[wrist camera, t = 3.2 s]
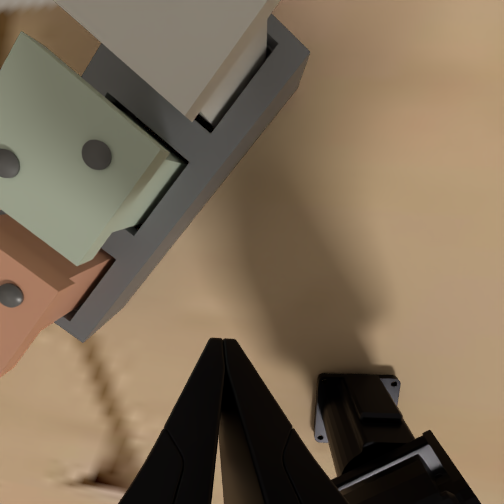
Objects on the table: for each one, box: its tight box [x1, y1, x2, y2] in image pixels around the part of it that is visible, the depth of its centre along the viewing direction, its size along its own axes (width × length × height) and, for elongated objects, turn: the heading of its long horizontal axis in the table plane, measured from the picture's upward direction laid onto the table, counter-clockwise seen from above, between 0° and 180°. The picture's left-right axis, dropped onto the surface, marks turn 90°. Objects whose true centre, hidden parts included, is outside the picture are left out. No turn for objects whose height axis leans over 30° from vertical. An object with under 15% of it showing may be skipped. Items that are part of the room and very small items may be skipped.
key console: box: [0, 14, 310, 343], centre depth 17 cm, size 8×21×5 cm, turn 140°
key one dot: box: [54, 0, 281, 128], centre depth 12 cm, size 6×6×7 cm
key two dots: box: [0, 31, 187, 266], centre depth 13 cm, size 6×6×7 cm
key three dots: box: [0, 214, 116, 377], centre depth 15 cm, size 6×6×7 cm
